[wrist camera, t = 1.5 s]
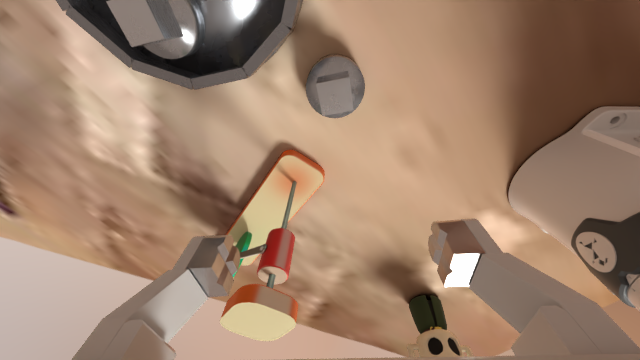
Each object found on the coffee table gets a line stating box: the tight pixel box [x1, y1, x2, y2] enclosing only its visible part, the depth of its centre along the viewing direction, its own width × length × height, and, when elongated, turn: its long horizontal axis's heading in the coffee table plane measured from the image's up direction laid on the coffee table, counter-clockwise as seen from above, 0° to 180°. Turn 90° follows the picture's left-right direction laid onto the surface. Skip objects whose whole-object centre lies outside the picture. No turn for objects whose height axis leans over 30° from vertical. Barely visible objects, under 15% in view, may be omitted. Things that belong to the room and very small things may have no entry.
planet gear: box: [306, 54, 365, 118], centre depth 24 cm, size 6×6×5 cm
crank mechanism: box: [220, 150, 325, 341], centre depth 29 cm, size 25×7×19 cm, turn 145°
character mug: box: [407, 295, 474, 357], centre depth 43 cm, size 11×7×13 cm, turn 93°
